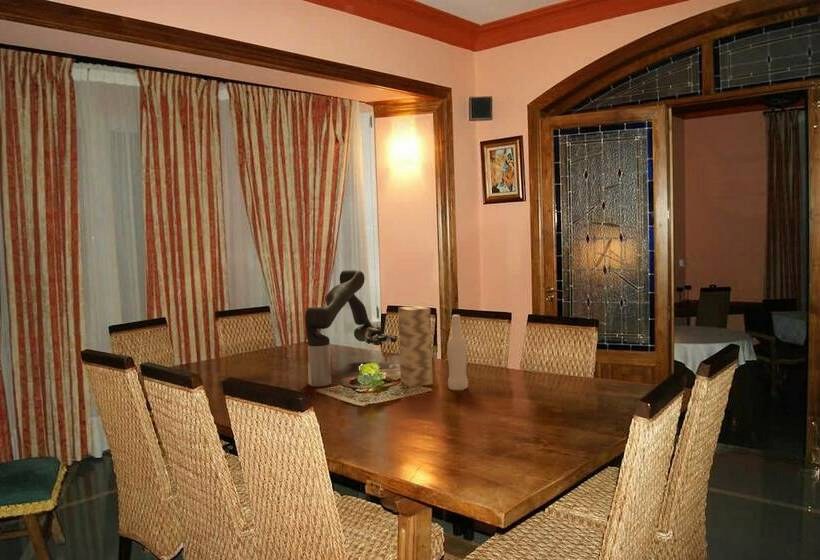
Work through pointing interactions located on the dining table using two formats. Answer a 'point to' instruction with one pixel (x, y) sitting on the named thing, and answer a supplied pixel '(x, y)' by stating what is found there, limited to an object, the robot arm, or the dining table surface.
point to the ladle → (390, 362)
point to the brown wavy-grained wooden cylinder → (415, 345)
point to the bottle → (457, 357)
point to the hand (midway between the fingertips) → (386, 341)
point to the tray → (393, 372)
